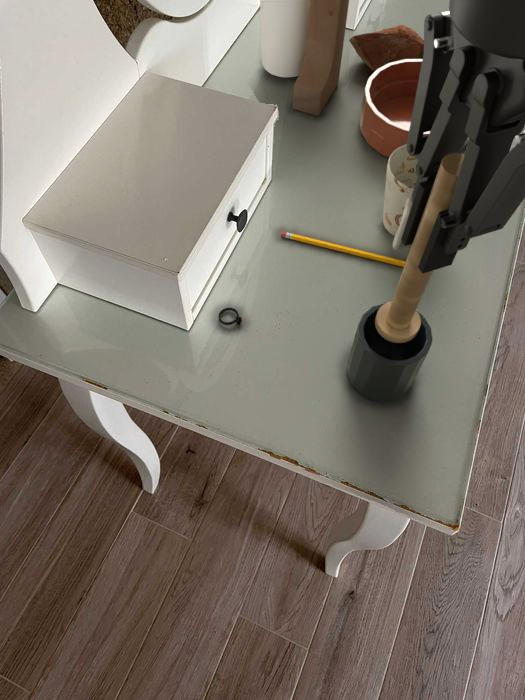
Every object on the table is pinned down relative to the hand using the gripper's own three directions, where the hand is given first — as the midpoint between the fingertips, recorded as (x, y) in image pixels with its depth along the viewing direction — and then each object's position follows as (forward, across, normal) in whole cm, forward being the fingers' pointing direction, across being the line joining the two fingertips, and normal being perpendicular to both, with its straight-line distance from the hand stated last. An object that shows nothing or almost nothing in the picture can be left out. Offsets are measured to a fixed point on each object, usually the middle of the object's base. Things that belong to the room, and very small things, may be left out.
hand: (425, 251), depth 49 cm
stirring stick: (+12, 0, 0) cm, 12 cm away
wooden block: (+22, -48, +12) cm, 54 cm away
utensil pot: (+22, 0, 0) cm, 22 cm away
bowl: (+22, -36, +23) cm, 48 cm away
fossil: (+22, -50, +26) cm, 61 cm away
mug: (+22, -18, +12) cm, 31 cm away
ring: (+22, -13, -14) cm, 29 cm away
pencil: (+22, -17, +4) cm, 29 cm away
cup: (+22, -56, +10) cm, 61 cm away
